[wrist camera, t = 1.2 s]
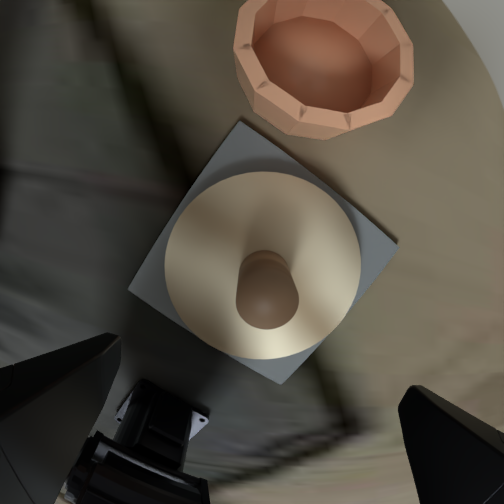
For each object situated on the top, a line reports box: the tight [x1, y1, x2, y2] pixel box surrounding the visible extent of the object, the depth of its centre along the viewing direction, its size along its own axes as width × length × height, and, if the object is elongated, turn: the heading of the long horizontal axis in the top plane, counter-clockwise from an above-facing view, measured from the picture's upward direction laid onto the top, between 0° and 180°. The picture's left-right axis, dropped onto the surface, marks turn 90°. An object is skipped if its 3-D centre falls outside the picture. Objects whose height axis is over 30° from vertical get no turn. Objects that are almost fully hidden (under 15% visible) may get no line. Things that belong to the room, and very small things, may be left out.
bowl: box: [233, 0, 414, 140], centre depth 14 cm, size 9×9×5 cm
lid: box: [165, 171, 361, 359], centre depth 17 cm, size 12×12×5 cm
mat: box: [128, 121, 399, 385], centre depth 20 cm, size 13×13×1 cm
